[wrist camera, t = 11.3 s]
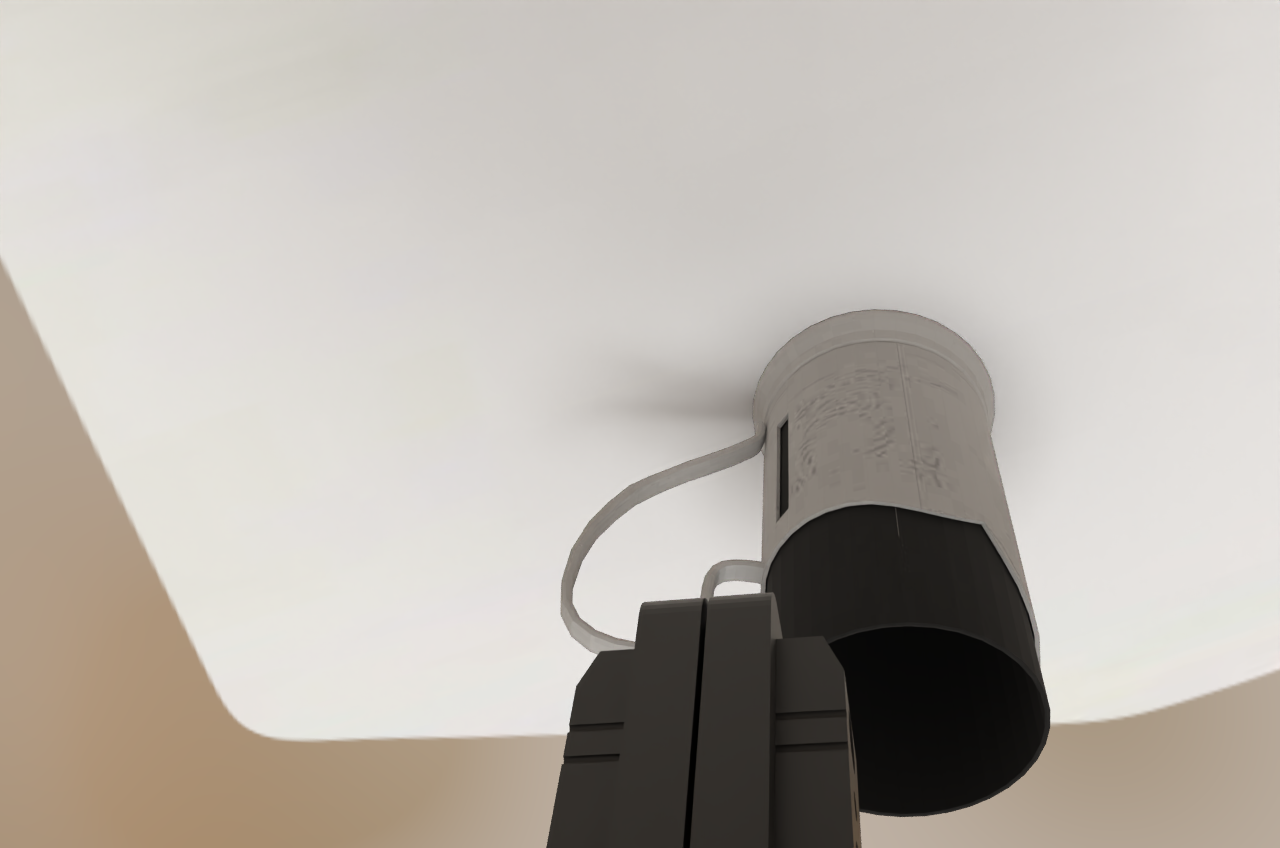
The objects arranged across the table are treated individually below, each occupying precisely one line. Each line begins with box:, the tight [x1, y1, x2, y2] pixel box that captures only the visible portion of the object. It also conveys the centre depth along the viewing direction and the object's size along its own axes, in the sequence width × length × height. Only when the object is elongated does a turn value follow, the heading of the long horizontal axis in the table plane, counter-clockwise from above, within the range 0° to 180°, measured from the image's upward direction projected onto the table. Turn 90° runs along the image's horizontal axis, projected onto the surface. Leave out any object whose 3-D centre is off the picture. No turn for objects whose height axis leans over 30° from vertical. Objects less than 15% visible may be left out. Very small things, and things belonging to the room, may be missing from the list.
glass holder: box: [561, 310, 1050, 817], centre depth 39 cm, size 9×14×15 cm, turn 85°
